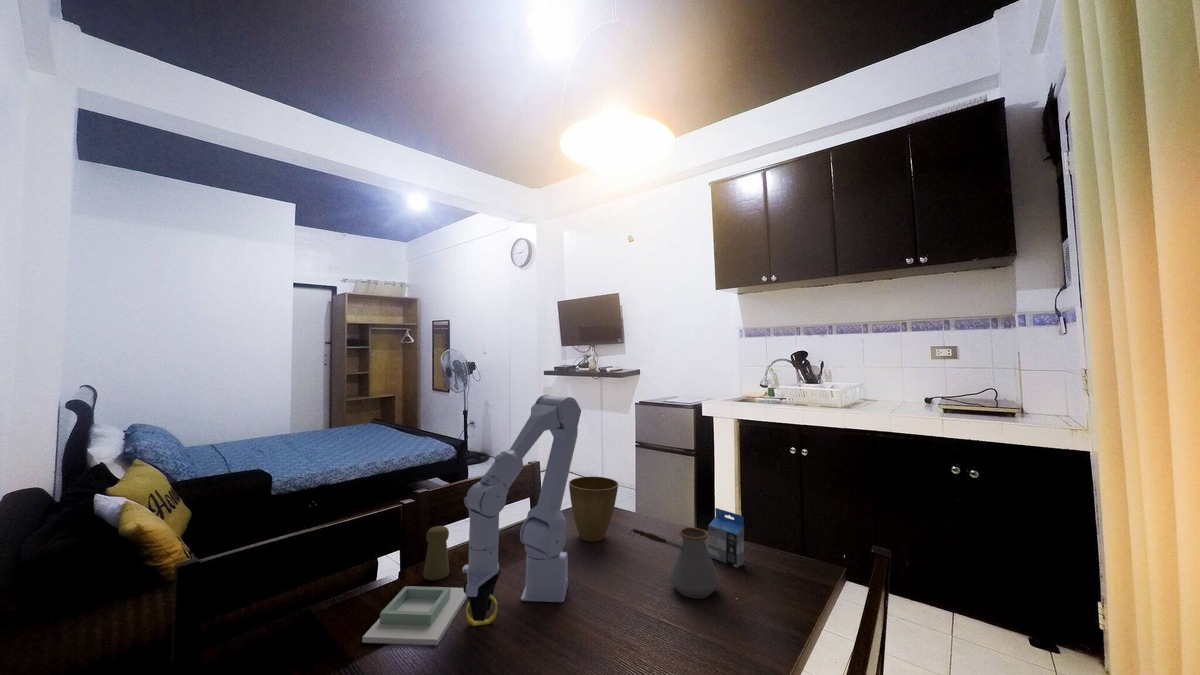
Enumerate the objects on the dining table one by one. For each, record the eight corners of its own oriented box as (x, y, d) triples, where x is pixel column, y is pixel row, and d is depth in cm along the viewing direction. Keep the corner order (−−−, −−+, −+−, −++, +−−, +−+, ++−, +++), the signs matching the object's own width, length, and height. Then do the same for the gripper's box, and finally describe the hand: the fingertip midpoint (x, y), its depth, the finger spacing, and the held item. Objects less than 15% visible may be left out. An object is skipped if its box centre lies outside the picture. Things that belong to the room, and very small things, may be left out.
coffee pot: (703, 574, 107) (703, 512, 108) (729, 599, 96) (729, 530, 97) (621, 585, 101) (622, 520, 102) (638, 613, 90) (639, 539, 91)
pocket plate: (470, 592, 97) (470, 579, 97) (437, 645, 79) (437, 628, 79) (408, 590, 97) (409, 577, 98) (362, 642, 79) (363, 625, 80)
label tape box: (707, 556, 117) (707, 510, 117) (715, 552, 119) (715, 507, 120) (736, 568, 110) (736, 519, 111) (744, 563, 113) (744, 515, 114)
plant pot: (600, 552, 119) (600, 492, 120) (557, 539, 127) (558, 483, 128) (626, 534, 131) (627, 480, 132) (586, 523, 139) (587, 473, 140)
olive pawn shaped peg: (440, 581, 102) (442, 533, 102) (417, 578, 103) (419, 531, 104) (454, 569, 108) (455, 524, 108) (432, 566, 109) (433, 522, 109)
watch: (495, 618, 88) (498, 588, 88) (496, 627, 85) (499, 595, 86) (465, 620, 86) (468, 590, 87) (464, 629, 84) (467, 597, 84)
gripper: (475, 530, 94) (473, 594, 93) (450, 560, 79) (447, 637, 79) (507, 531, 94) (506, 595, 93) (488, 561, 79) (486, 638, 78)
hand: (481, 614), depth 86 cm, fingers closed on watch, 3 cm apart
